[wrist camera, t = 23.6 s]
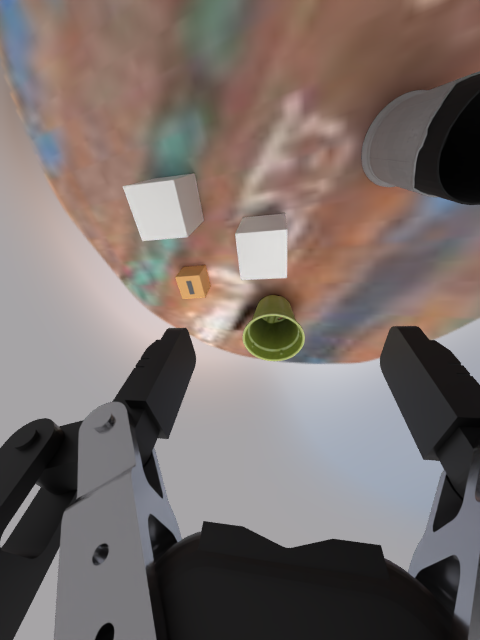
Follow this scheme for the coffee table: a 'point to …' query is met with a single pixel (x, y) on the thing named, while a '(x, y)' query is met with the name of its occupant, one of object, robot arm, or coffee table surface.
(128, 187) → the left white block
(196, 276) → the orange cube
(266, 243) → the light grey rectangular block
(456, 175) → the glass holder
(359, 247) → the coffee table surface
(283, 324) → the plant pot
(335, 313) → the coffee table surface
